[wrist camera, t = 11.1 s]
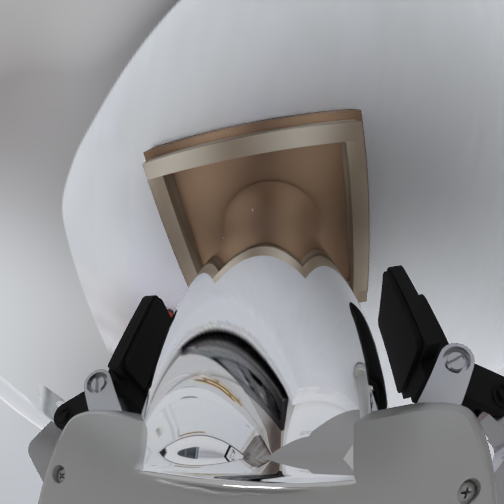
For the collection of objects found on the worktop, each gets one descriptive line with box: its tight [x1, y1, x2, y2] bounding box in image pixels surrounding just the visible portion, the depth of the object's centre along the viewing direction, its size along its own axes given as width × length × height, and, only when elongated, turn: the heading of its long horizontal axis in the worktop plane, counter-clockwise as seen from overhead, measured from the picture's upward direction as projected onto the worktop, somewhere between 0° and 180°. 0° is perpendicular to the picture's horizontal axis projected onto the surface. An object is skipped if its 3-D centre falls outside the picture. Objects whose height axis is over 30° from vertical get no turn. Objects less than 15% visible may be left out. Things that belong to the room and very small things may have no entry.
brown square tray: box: [143, 109, 369, 302], centre depth 17 cm, size 13×13×3 cm
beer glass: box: [133, 181, 389, 491], centre depth 11 cm, size 7×7×15 cm
